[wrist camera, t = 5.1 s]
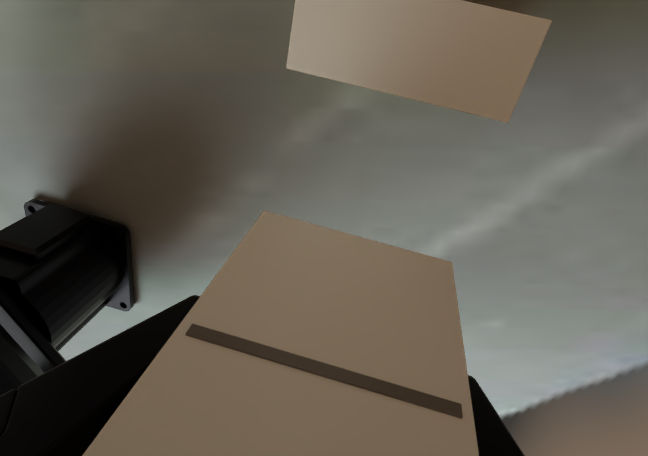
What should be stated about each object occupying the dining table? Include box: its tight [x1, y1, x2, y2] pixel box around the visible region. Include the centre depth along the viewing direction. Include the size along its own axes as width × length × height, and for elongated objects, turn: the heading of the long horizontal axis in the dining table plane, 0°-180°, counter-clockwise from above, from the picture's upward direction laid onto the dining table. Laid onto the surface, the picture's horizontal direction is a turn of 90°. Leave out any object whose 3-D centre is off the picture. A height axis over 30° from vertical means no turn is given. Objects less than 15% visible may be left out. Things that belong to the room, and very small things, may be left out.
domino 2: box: [286, 0, 552, 123], centre depth 12 cm, size 2×5×9 cm, turn 79°
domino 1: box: [82, 211, 479, 456], centre depth 7 cm, size 2×5×9 cm, turn 79°
